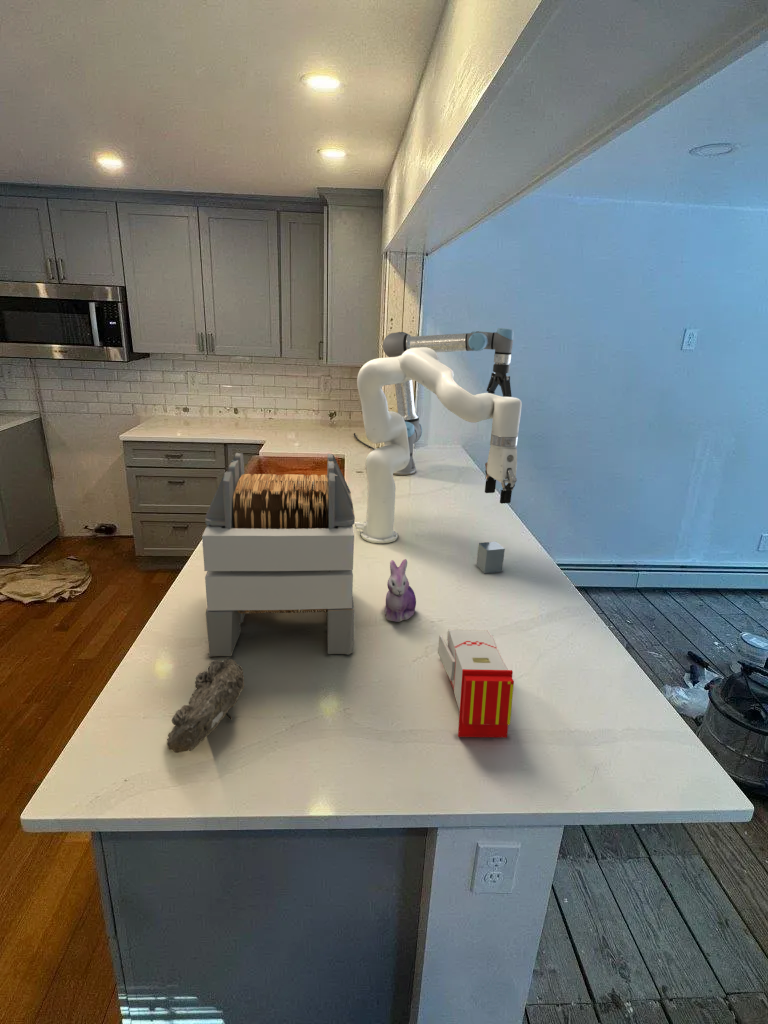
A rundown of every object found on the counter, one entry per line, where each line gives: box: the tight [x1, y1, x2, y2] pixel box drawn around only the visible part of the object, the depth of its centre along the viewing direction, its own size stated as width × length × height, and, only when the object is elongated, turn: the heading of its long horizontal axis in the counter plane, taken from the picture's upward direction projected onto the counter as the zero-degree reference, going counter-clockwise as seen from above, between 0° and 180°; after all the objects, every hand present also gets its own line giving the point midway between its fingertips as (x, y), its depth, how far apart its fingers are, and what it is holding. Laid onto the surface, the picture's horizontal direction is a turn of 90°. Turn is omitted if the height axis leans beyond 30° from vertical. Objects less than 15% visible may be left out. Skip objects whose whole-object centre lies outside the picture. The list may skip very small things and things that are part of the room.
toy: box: [437, 628, 515, 738], centre depth 117 cm, size 12×13×30 cm
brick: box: [475, 541, 506, 575], centre depth 175 cm, size 6×6×8 cm
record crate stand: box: [201, 452, 356, 658], centre depth 136 cm, size 34×33×41 cm
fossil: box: [166, 658, 245, 754], centre depth 106 cm, size 22×10×15 cm
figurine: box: [384, 558, 417, 623], centre depth 145 cm, size 9×10×15 cm
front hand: (497, 497), depth 168 cm, fingers open, 9 cm apart
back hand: (496, 410), depth 267 cm, fingers open, 13 cm apart
